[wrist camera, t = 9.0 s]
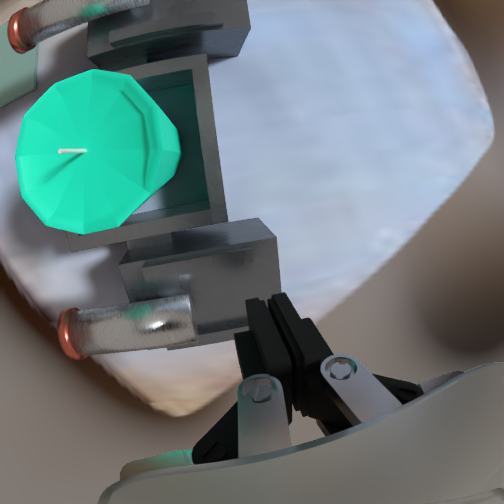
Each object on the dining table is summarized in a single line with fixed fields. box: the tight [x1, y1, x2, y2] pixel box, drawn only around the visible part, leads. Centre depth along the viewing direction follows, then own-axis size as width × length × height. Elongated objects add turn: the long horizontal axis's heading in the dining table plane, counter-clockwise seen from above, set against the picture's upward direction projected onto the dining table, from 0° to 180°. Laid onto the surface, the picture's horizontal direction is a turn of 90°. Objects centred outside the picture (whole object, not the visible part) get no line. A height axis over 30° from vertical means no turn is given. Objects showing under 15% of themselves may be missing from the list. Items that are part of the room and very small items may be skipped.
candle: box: [15, 69, 183, 235], centre depth 12 cm, size 6×6×12 cm
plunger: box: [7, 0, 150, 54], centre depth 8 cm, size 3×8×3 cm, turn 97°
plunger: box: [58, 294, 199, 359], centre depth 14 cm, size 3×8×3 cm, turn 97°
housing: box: [65, 0, 281, 350], centre depth 15 cm, size 24×13×6 cm, turn 7°
